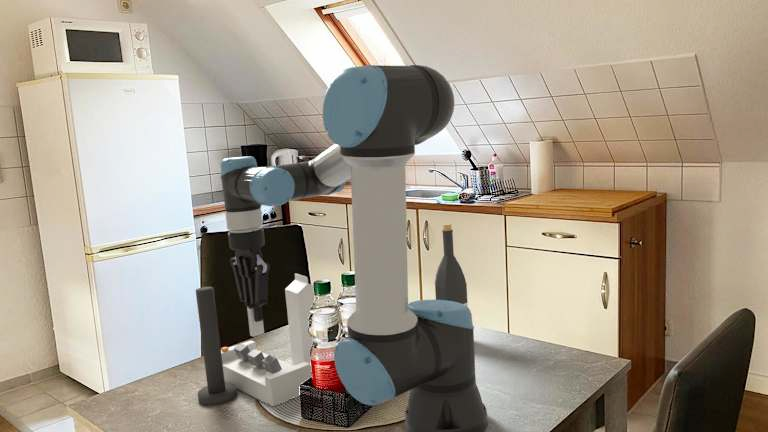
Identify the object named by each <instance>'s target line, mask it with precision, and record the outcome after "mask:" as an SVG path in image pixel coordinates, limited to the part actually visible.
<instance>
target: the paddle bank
mask: <svg viewBox="0 0 768 432" xmlns="http://www.w3.org/2000/svg"><path fill="white" fill-rule="evenodd" d="M242 343H243V342H242ZM242 343H241V342H240V343H238V344H236V345H237V346H236V347H235V348H234V350H235V352H236V354H237V356H238V358H239V359H241V360H243V361H245V362H246V361H249V362H251V363H252V365H254V366H256V367H258V368H261V367H262V368H265V369H266V370H267V372H269V373H272V374H274V373H277V372H279V371H280V370H282V368H281V366H280V364H279V362H278V360H277V359H278V357H275V356H272V355H270V354H267V355H268V356H267V357H266V358H264V356H263V354H262V353H263V352H262V351H261V350H258V349H257V348H256V349H253V350H252V351H251V352H250V350H249V348H248V346H246V345H244V344H242Z"/></svg>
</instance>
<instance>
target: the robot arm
mask: <svg viewBox="0 0 768 432" xmlns="http://www.w3.org/2000/svg"><path fill="white" fill-rule="evenodd" d="M331 81H332V82H330V84H329V85H328V86H327V89H326V92H325V94H324V98H323V103H322V123H323V127H324V130H325V131H327V137H328V138H329V139H330V140H331V142H332V143H334V144H333V145H331V146H330V147H328V148H327V149H326V150H324V151H322V152H321V153H320V154H318V155H317V156H316V157H314V158H313V159H311V160H308V161H301V162H295V163H288V164H287V163H286V164H278V165H271V166H259V167H258V162H257V159H256V158H255V157H254V156H251V155H249V156H247V155H246V156H236V157H227V158H226V157H225V158H224V159H222V160H221V161H220V179H221V186H222V187H221V188H222V193H223V202H224V208H225V210H224V213H225V220H226V229H227V230H228V233H227V237H228V245H229V248H230V249H231V250H233V251H234V255H235V256H234V257H231V258H230V259H229V263H230V265H231V268H232V272H233V275H234V280H235V284H236V288H237V292H238V297H239V301H240V302H244V305H245V307H246V311H247V318H248V328H249V329H248V330H249V336H251V337H253V338H255V337H257V336H261V335H263V334H265V329H264V327H265V325H264V316H263V314H264V313H263V307H262V306H265V305H268V294H269V272H270V269H271V264H270V262H264V260H263V254H262V250H261V248H262V247H264V246H265V244H266V241H265V231H264V229H263V228H262V227H263V225H264V224H263V223H264V221H263V216H262V215H263V212H262V206H267V207H274V206H275V207H276V206H282V205H284V204H286V203H288V202H291V201H296V200H302V199H307V198H312V197H320V196H330V195H331V194H334V193H340V192H341V191H342V190H343V189H344V188H345V185H346V183H347V181H349V180H350V183H351V186H350V187H351V209H352V235H353V236H352V239H353V261H354V264H353V265H354V266H353V267H354V286H355V290H354V291H355V311H354V312H352V313H351V314H350V315H349V317H348V318H347V337H346V338H342V339H341V340H340V341H338V343H337V345H336V346H335V348H334V352H333V359H334V365H335V370H336V372H337V375H338V377H339V380H340V382H341V383H342V384H343V386H344V388H345V389H346V391H347V392H348V393H349V394H350V395H351V396H352V397H353V399H355V400H356V401H357V402H359V403H362V404H364V405H367V406H375V405H379V404H382V403H384V402H390V401H392V400H393V399H394V398H396V397H398V396H401V395H403V394H405V393H407V392H410V394H409V395H408V396H409V397H408V401H407V407H406V408H405V410H404V411H405V412H404V413H405V414H404V421H405V422H404V424H405V429H406V430H407V432H485V431H486V430H487V428H488V412H487V407H486V405H485V404H484V403H483V401H482V396H481V393H480V390H479V387H478V385H477V379H476V360H475V359H476V358H475V337H474V329H475V325H474V324H473V323H474V322H473V317H472V312H471V309H470V308H469V306H468V307H467V306H465V305H463V304H461V303H458V302H453V301H447V300H436V299H420V300H414V301H412V302H409V283H408V282H409V281H408V279H409V276H408V275H409V273H408V236H407V235H408V233H407V231H408V229H407V223H408V222H407V189H406V188H407V187H406V185H407V183H406V182H407V181H406V180H407V179H406V177H407V176H406V175H407V174H406V165H407V163H408V162H409V161H410V160H411V159H413V157H414V155H416V151H415V149H416V148H415V146H417V145H419V144H422V143H424V142H425V141H427V140H428V139H429V140H430V139H431V138H432V137H434V136H436V135H437V134H439V133H441V132H442V131H443V130H444V129H445V128H446V127H447V126H448V124H449V123H450V122H451V119H452V117H453V114H454V112H455V111H454V110H455V109H454V108H455V97H454V96H455V95H454V92H453V88H452V87H451V85H450V83H449V81H448V80H447V78H446V77H445V76H444V75H443V74H441V73H440V72H439V71H437V70H436V69H433V68H431V67H429V66H427V65H420V64H412V65H411V64H410V65H375V64H374V65H372V64H371V65H370V64H367V65H361V66H352V67H348V68H345V69H343V70H341V71H340V72H338V73H337V74H336V75H335V76H334V77H333V80H331Z"/></svg>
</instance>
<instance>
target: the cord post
mask: <svg viewBox="0 0 768 432" xmlns="http://www.w3.org/2000/svg"><path fill="white" fill-rule="evenodd" d="M195 296H196V297H195V298H196V306H197V313H198V320H199V329H200V335H201V336H200V337H201V344H202V352H203V358H204V359H203V361H204V368H205V369H204V370H205V376H206V386H204V387H202V388H200V390H198V392H197V398H198V403H199V404H201V405H202V406H208V407H209V406H212V407H213V406H218V405H222V404H226V403H229V402H230V401H232V400H234V399H235V398H236V397H237V394H238V393H237V388H236V386H235V385H234V384H232V383H226V382H225V381H224V372H223V364H222V356H221V348H222V347H221V340H220V333H219V326H218V316H217V315H218V314H217V308H216V300H215V290H214V287H213V286H203V287H199V288H196V289H195Z"/></svg>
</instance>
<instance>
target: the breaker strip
mask: <svg viewBox="0 0 768 432" xmlns="http://www.w3.org/2000/svg"><path fill="white" fill-rule="evenodd" d="M242 344H244V345H246V346H248V348H249V350H250V352H251V351H252V350H253V349H256V350H257V343H256V341H253V340H248V341H245V342H242ZM237 345H238V344H235V345H233V346H230V347H229V346H223V347H221V356H222V364H223V372H224V381H225V383H232V384H234V385H235V386H236V390H237V389H238V390H240V391H241V392H243V393H246V394H247V395H249V396H250V397H253V398H255V399H256V400H258V399H260V400H262V401H264V402H266V403H268V404H270V405H271V406H270V405H269V406H270V407H272V406H275V405H277V404H279V403H282V402H284V401H287V400H289V399H291V398H293V397H296V396H298V395H299V386H300V384H301V383H302V382H304V381H305V380H307V379H308V378H310V377H312V370H311V367H310V364H309V363H307V362H303V363H300V364H298V365H295V366H294V365H293V364H291V363H289V362H287V361H283V360H281V359H278V358H277V360H278V362H279V364H280V366H281V368H282V370H280V371H279V372H277V373H274V374H272V373H269V372H267V370H266V369H265V368H262V367H261V368H258V367H256V366H254V365H252V363H251V362H249V361H246V362H245V361H243V360H241V359H239V358H238V356H237V354H236V352H235V350H234V348H235V347H236V346H237ZM262 354H263V356H264V358H266V357H267V356H268V355H269V354H267V353H265V352H262ZM296 398H297V397H296ZM260 400H259V401H260ZM262 401H261V402H262ZM289 401H290V400H289ZM264 402H263V403H264ZM287 402H288V401H287ZM266 403H265V404H266ZM284 403H285V402H284ZM268 404H267V405H268ZM282 404H283V403H282ZM277 406H278V405H277ZM275 407H276V406H275Z"/></svg>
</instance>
